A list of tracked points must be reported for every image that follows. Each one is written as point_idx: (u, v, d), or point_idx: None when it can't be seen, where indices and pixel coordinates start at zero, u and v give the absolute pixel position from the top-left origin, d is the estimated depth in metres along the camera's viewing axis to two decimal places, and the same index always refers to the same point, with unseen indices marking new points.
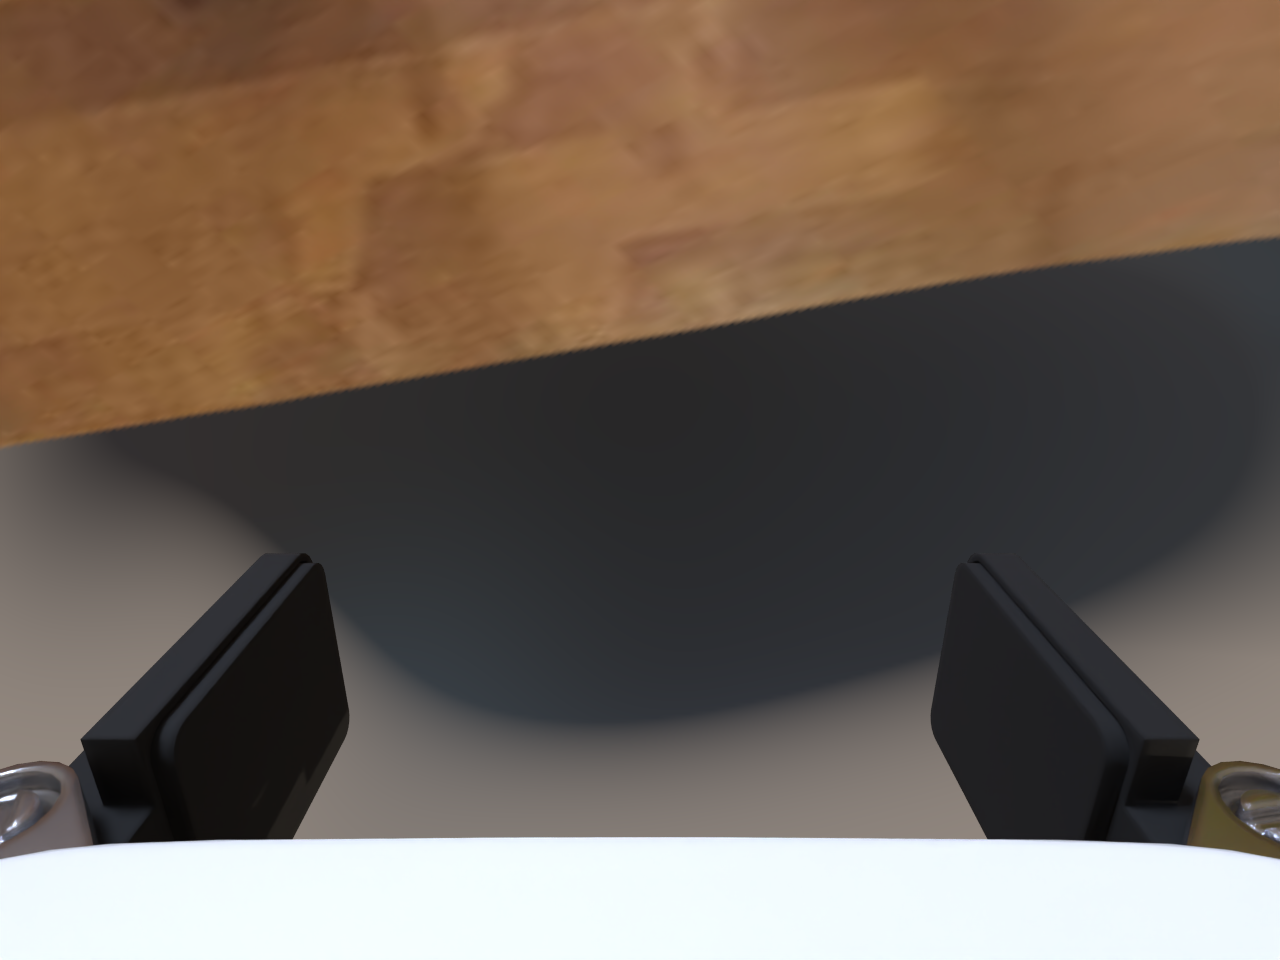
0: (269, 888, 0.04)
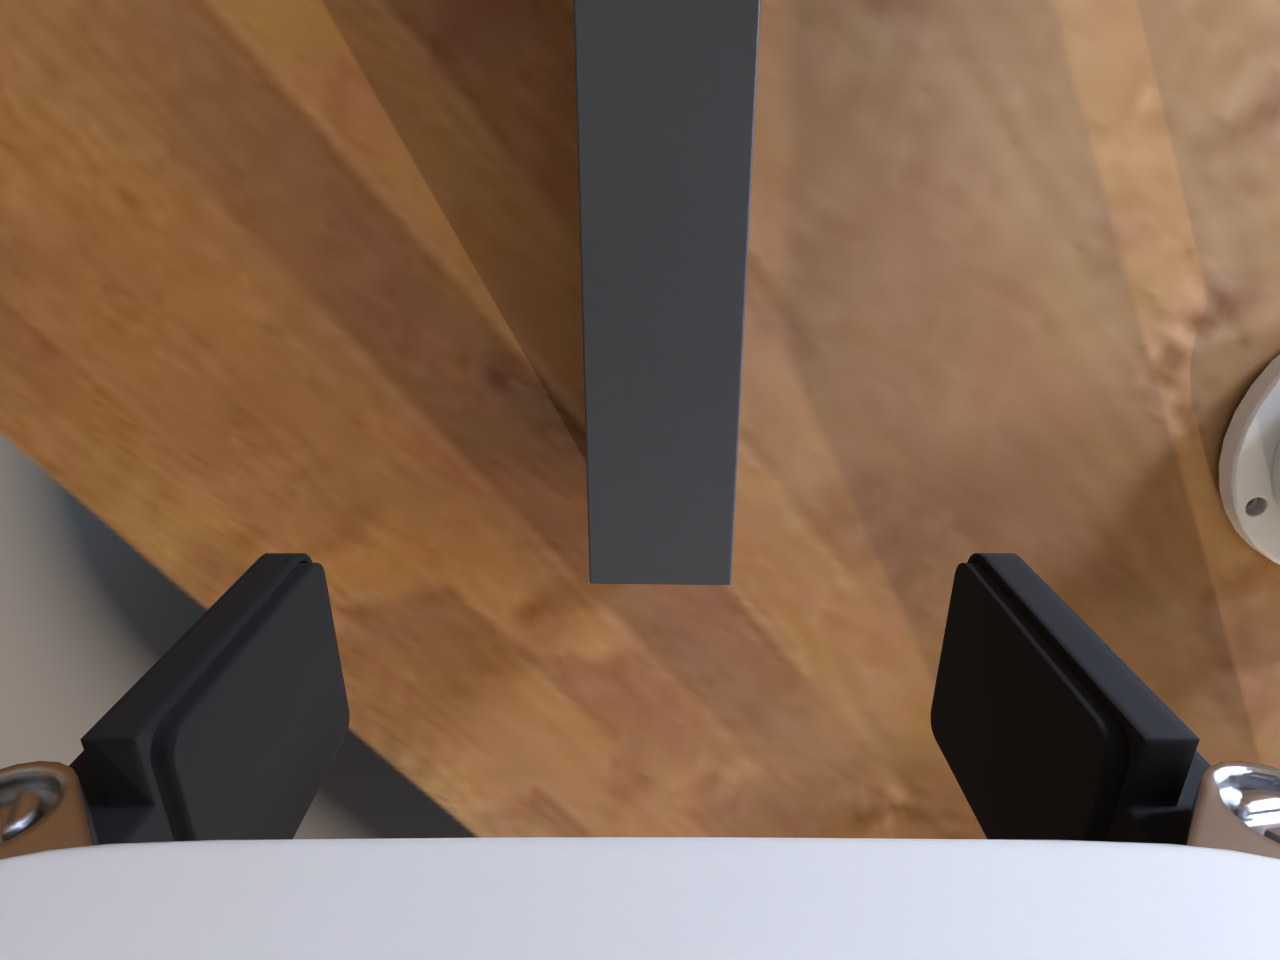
0: (269, 888, 0.04)
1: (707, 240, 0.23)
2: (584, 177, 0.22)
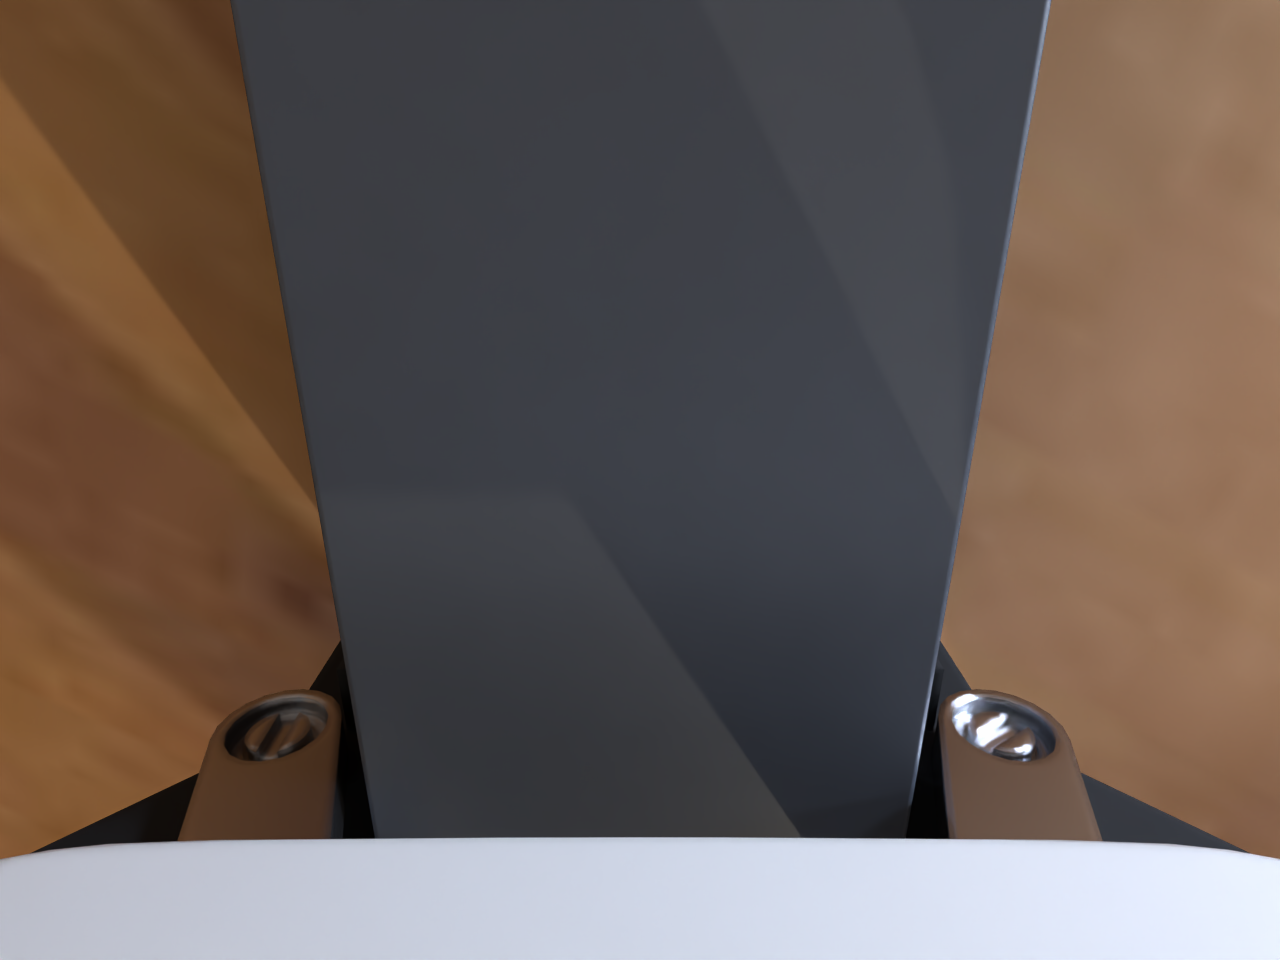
0: (269, 888, 0.04)
1: (812, 433, 0.06)
2: (283, 179, 0.05)
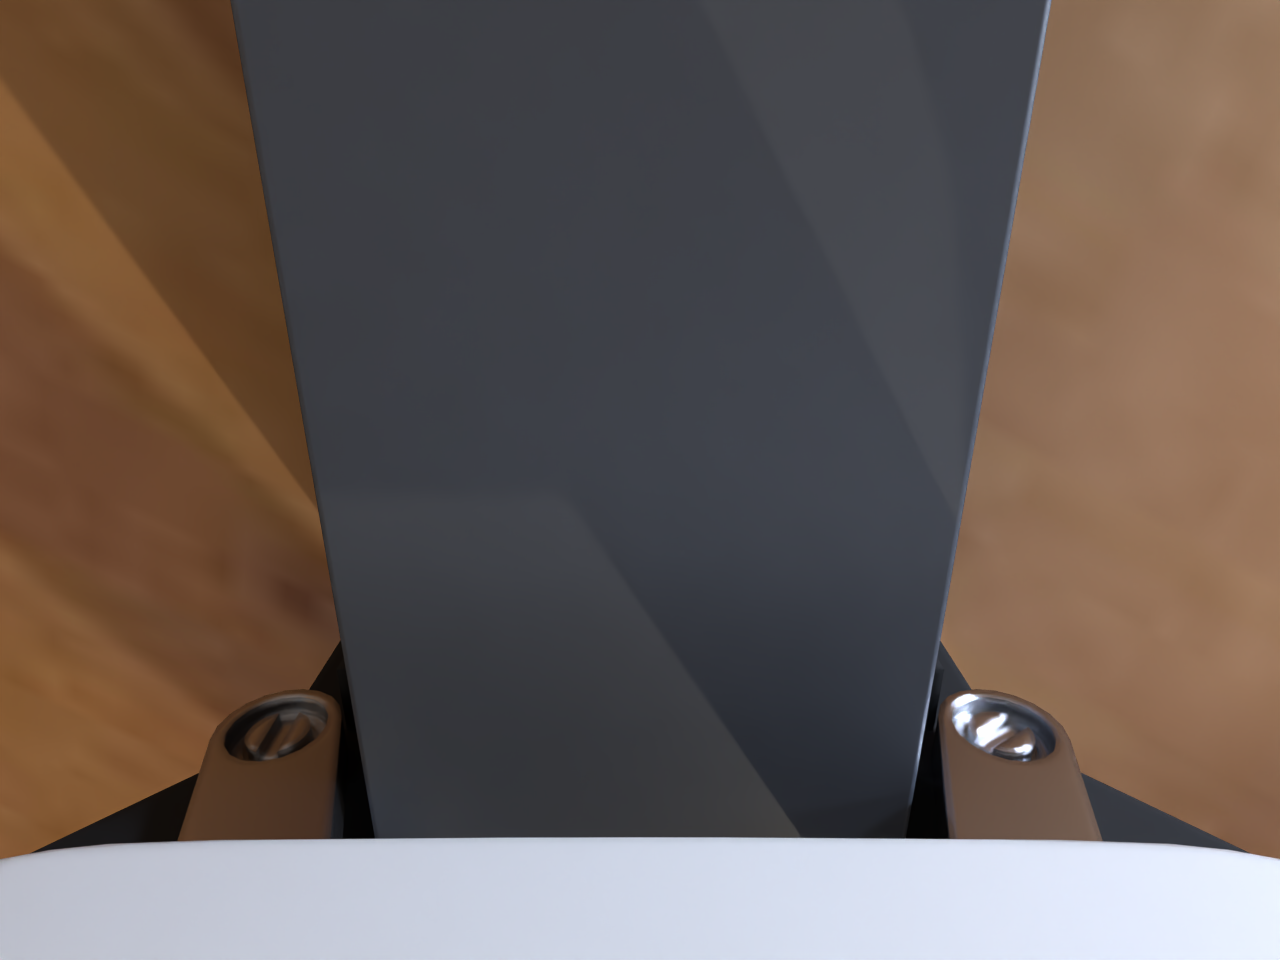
0: (269, 888, 0.04)
1: (812, 433, 0.06)
2: (283, 179, 0.05)
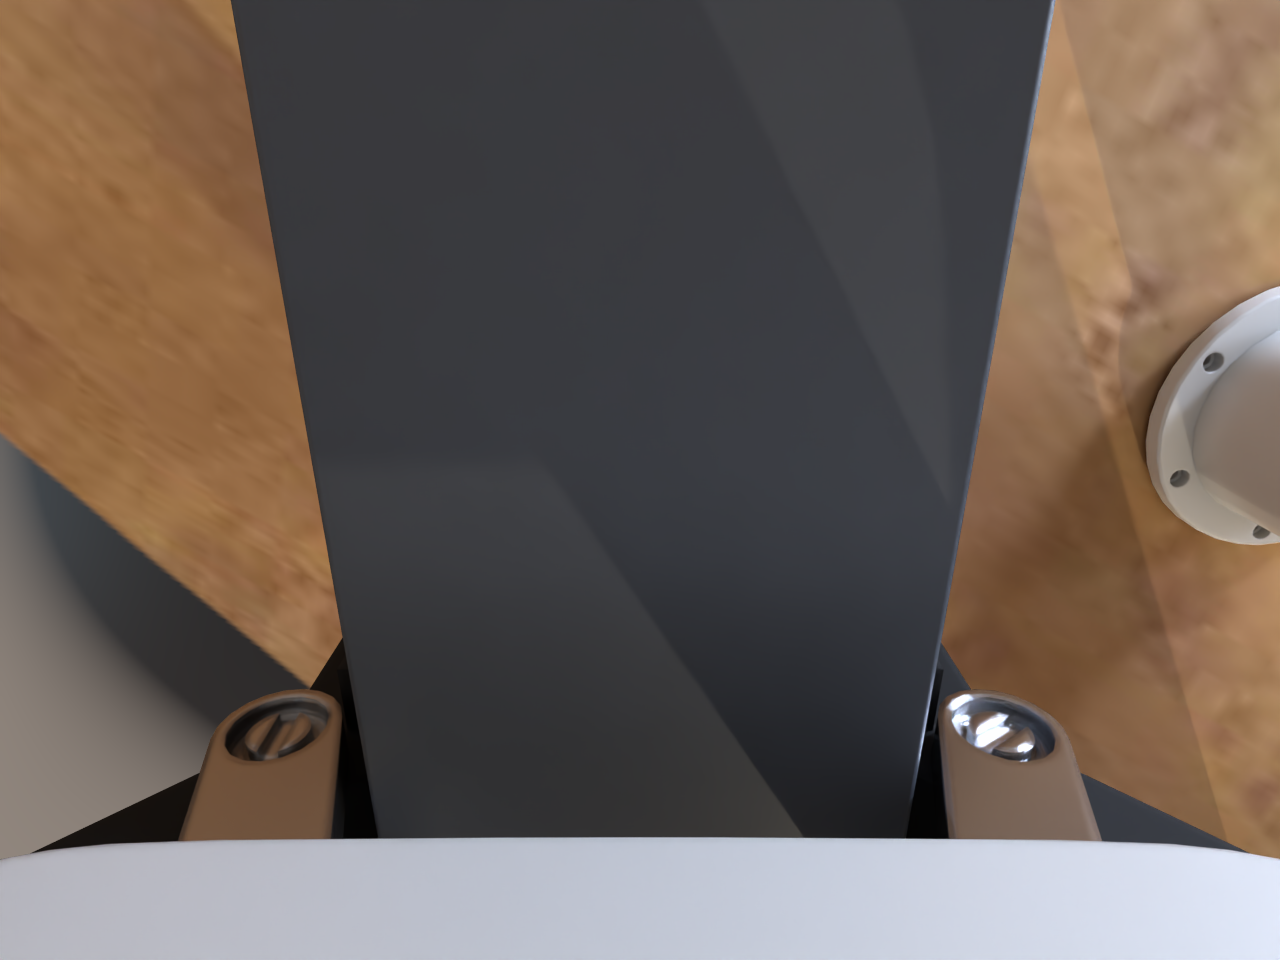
0: (269, 888, 0.04)
1: (814, 437, 0.06)
2: (285, 185, 0.05)
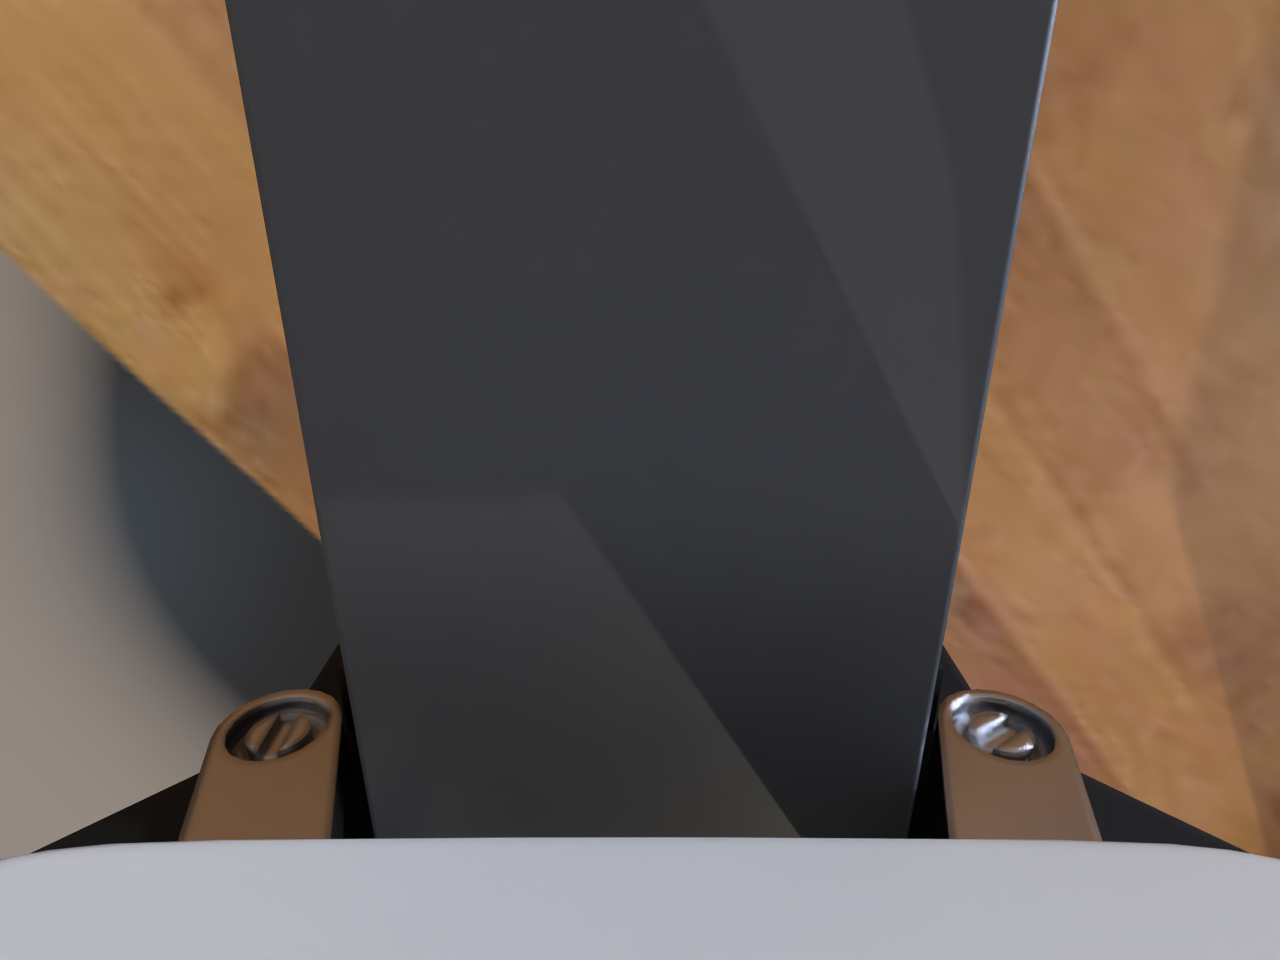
0: (269, 888, 0.04)
1: (815, 441, 0.06)
2: (280, 185, 0.05)
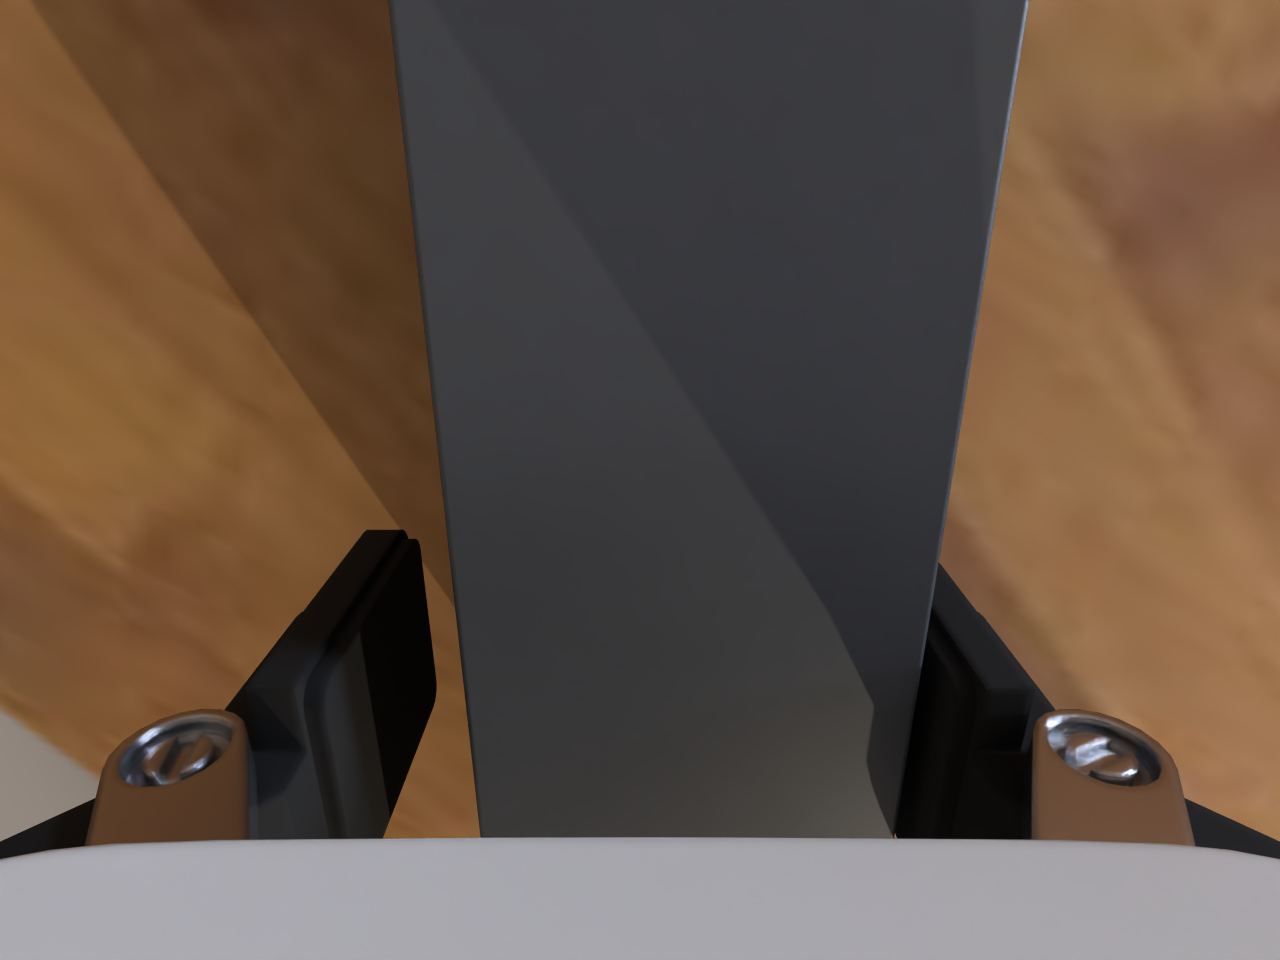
0: (269, 888, 0.04)
1: (833, 409, 0.07)
2: (430, 214, 0.06)
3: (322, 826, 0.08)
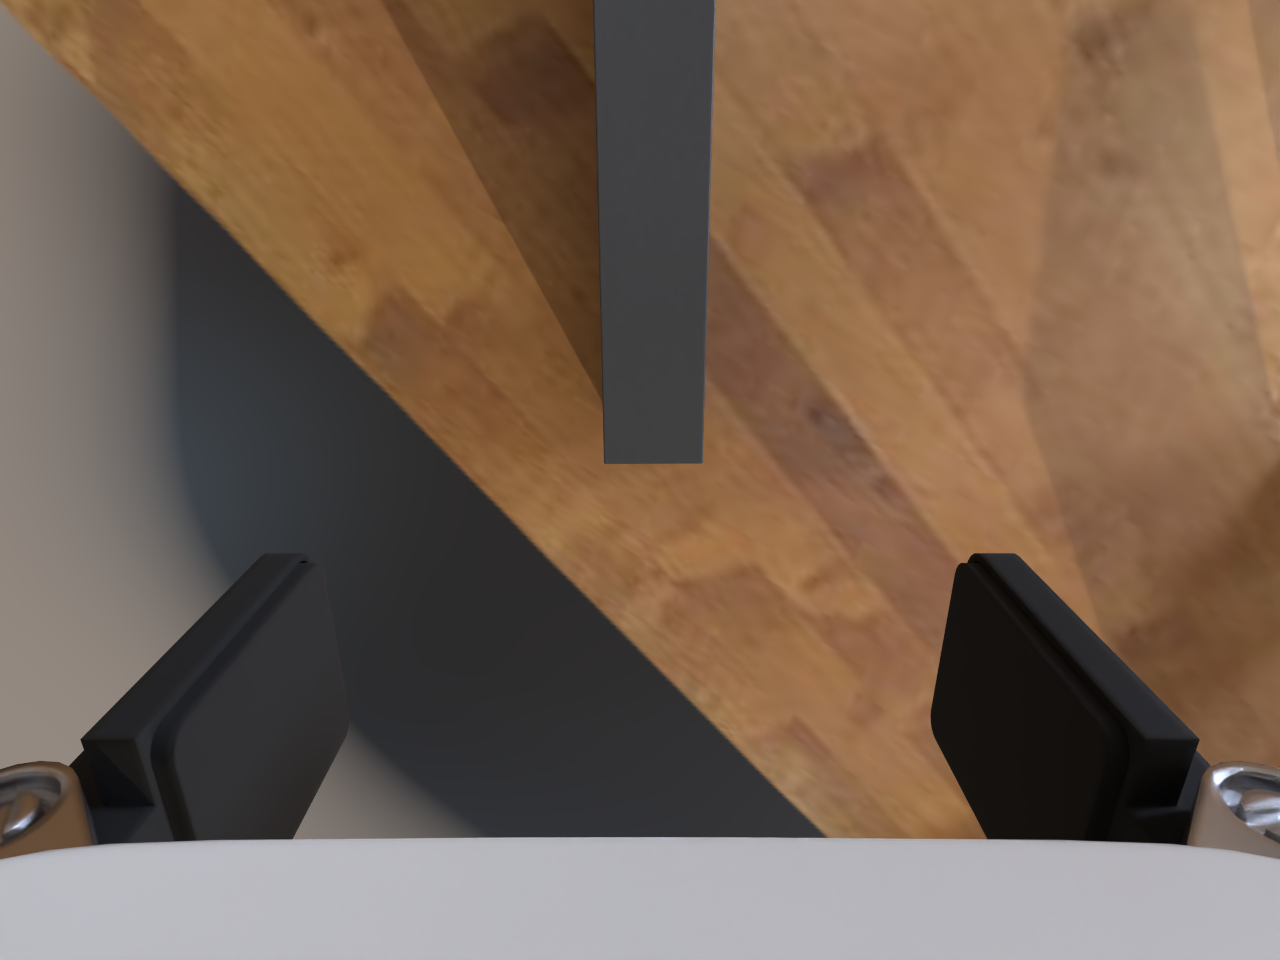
0: (269, 888, 0.04)
1: (682, 221, 0.34)
2: (601, 180, 0.34)
3: None
